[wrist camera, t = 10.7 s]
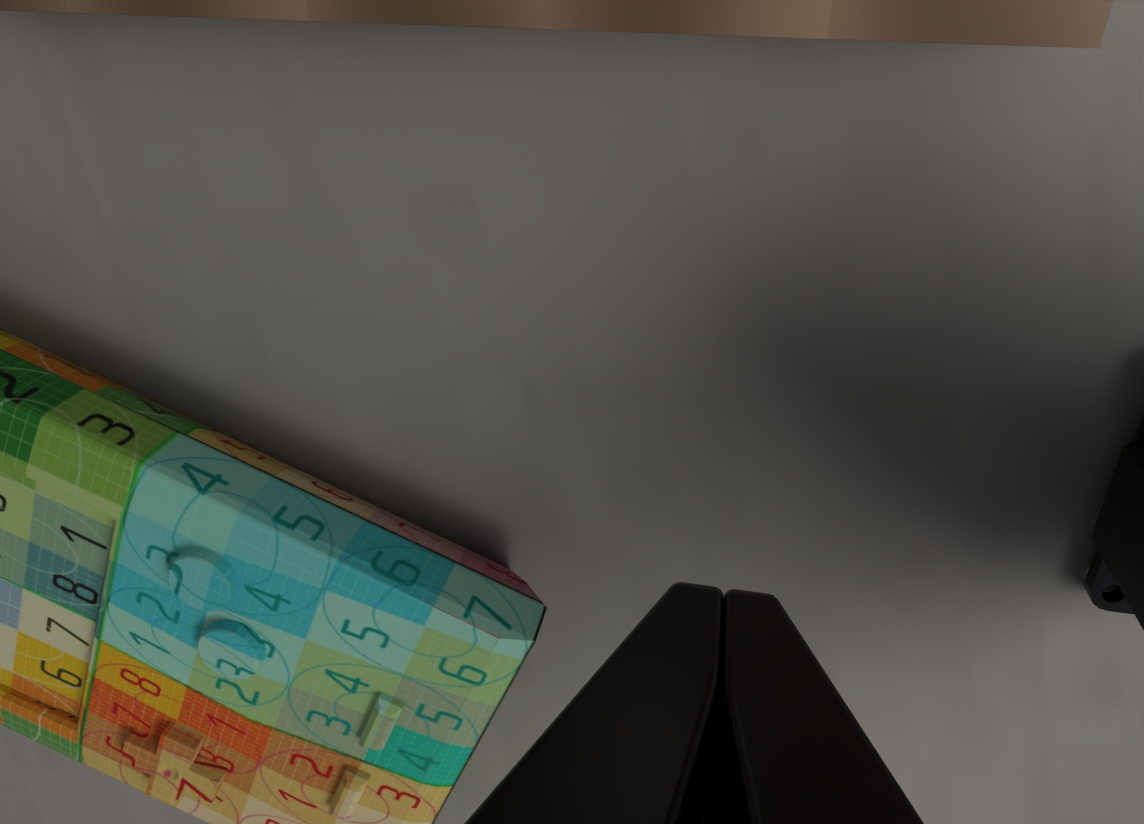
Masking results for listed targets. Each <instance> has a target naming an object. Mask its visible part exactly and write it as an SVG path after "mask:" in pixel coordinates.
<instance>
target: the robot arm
mask: <svg viewBox="0 0 1144 824" xmlns="http://www.w3.org/2000/svg"><path fill="white" fill-rule="evenodd" d="M1092 541H1093V543H1094V544H1095V546H1096V548H1097V549H1096V551H1095V554H1094V557H1093V560H1092V563H1091V566H1090V568H1089V571H1088V574H1087V577H1086V580H1085V589H1086V591H1087V593H1088V595H1089V597H1090V599H1091V600H1092V602H1093V604H1094V605H1096V606H1097V607H1098V608H1100V609H1103V610H1107V611H1114V612H1121V613H1129V614H1135V616H1136V618H1137V619H1138V621H1139V623H1140V625H1141V626H1142V628H1143V630H1144V416H1143V419H1142V422H1141V425H1140V427H1139V430H1138V433H1137V436H1136V438H1134V439H1132V440H1131V441H1130V442H1128V443H1127V444H1126V445H1125V446H1123V448H1122V451H1121V453H1120V456H1119V459H1118V462H1117V465H1116V468H1115V471H1114V474H1113V476H1112V479H1111V482H1110V485H1109V488H1108V491H1107V494H1106V496H1105V499H1104V502H1103V505H1102V508H1101V511H1100V514H1099V517H1098V519H1097V522H1096V525H1095V528H1094V531H1093V534H1092ZM1110 585H1118V586H1119V587H1118V588H1117V589H1115V590H1113V591H1111V592H1104V591H1103V590H1104V589H1105V588H1106V587H1108V586H1110ZM464 824H924V823H923V822H922V820H921V818H920V817H919V815H918V814H917V812H916V811H915V809H914V808H913V806H912V805H911V803H910V802H909V800H908V799H907V797H906V795H905V794H904V792H903V791H902V789H901V788H900V786H899V785H898V783H897V782H896V780H895V779H894V777H893V775H892V774H891V772H890V771H889V769H888V768H887V766H886V765H885V763H884V762H883V760H882V759H881V757H880V756H879V754H878V752H877V751H876V749H875V748H874V746H873V745H872V743H871V742H870V740H869V739H868V737H867V736H866V734H865V733H864V731H863V729H862V728H861V726H860V725H859V723H858V722H857V720H856V719H855V717H854V716H853V714H852V713H851V711H850V709H849V708H848V706H847V705H846V703H845V702H844V700H843V699H842V697H841V696H840V694H839V693H838V691H837V690H836V688H835V686H834V685H833V683H832V682H831V680H830V679H829V677H828V676H827V674H826V673H825V671H824V670H823V668H822V666H821V665H820V663H819V662H818V660H817V659H816V657H815V656H814V654H813V653H812V651H811V650H810V648H809V647H808V645H807V643H806V642H805V640H804V639H803V637H802V636H801V634H800V633H799V631H798V630H797V628H796V627H795V625H794V624H793V622H792V620H791V619H790V617H789V616H788V614H787V613H786V611H785V610H784V608H783V607H782V605H781V604H780V602H779V601H778V599H777V598H776V597H774V596H773V595H771V594H767V593H759V592H751V591H744V590H736V589H730V590H728V591H727V592H726V593H725V595H724V599H723V593H722V591H721V590H720V589H719V588H717V587H714V586H706V585H699V584H691V583H684V582H677V583H675V584H673V585H672V586H671V587H670V588H669V589H668V590H667V591H666V592H665V594H664V595H663V596H662V597H661V598H660V599H659V600H658V602H657V603H656V604H655V605H654V606H653V607H652V609H651V610H650V611H649V612H648V613H647V614H646V615H645V617H644V618H643V619H642V620H641V621H640V622H639V623H638V625H637V626H636V627H635V628H634V629H633V630H632V631H631V633H630V634H629V635H628V636H627V637H626V638H625V640H624V641H623V642H622V643H621V644H620V645H619V646H618V648H617V649H616V650H615V651H614V652H613V653H612V654H611V656H610V657H609V658H608V659H607V660H606V661H605V663H604V664H603V665H602V666H601V667H600V668H599V669H598V671H597V672H596V673H595V674H594V675H593V676H592V677H591V679H590V680H589V681H588V682H587V683H586V684H585V685H584V687H583V688H582V689H581V690H580V691H579V692H578V694H577V695H576V696H575V697H574V698H573V699H572V700H571V702H570V703H569V704H568V705H567V706H566V707H565V708H564V710H563V711H562V712H561V713H560V714H559V715H558V717H557V718H556V719H555V720H554V721H553V722H552V723H551V725H550V726H549V727H548V728H547V729H546V730H545V731H544V733H543V734H542V735H541V736H540V737H539V738H538V739H537V741H536V742H535V743H534V744H533V745H532V746H531V748H530V749H529V750H528V751H527V752H526V753H525V754H524V756H523V757H522V758H521V759H520V760H519V761H518V762H517V764H516V765H515V766H514V767H513V768H512V769H511V771H510V772H509V773H508V774H507V775H506V776H505V777H504V779H503V780H502V781H501V782H500V783H499V784H498V785H497V787H496V788H495V789H494V790H493V791H492V792H491V793H490V795H489V796H488V797H487V798H486V799H485V800H484V802H483V803H482V804H481V805H480V806H479V807H478V808H477V810H476V811H475V812H474V813H473V814H472V815H471V816H470V818H469V819H468V820H467V821H466V822H465V823H464Z"/></svg>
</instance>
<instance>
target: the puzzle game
mask: <svg viewBox="0 0 1144 824" xmlns="http://www.w3.org/2000/svg"><path fill="white" fill-rule="evenodd" d="M546 609H547V607H546V606H545V605H544V604H543V603H542V601H541V600H540V599H539V598H538V596H537V595H536V594H535V593H534V592H533V590H532V589H531V588H530V587H529V585H528V584H527V583H526V582H525V581H524V580H522V579H521V578H520V577H519V576H518V575H516V574H515V573H514V572H513V571H511V570H510V569H509V568H506V567H504V566H502V565H500V564H498V563H496V562H494V561H492V560H489V559H487V558H485V557H483V556H481V555H479V554H477V553H475V552H472V551H470V550H468V549H466V548H464V547H462V546H460V545H458V544H456V543H453V542H451V541H449V540H447V539H445V538H443V537H441V536H439V535H436V534H434V533H432V532H430V531H428V530H426V529H424V528H422V527H420V526H417V525H415V524H413V523H411V522H409V521H407V520H405V519H403V518H400V517H398V516H396V515H394V514H392V513H390V512H388V511H386V510H383V509H381V508H379V507H377V506H375V505H373V504H371V503H369V502H367V501H364V500H362V499H360V498H358V497H356V496H354V495H352V494H350V493H347V492H345V491H343V490H341V489H339V488H337V487H335V486H333V485H331V484H328V483H326V482H324V481H322V480H320V479H318V478H316V477H314V476H311V475H309V474H307V473H305V472H303V471H301V470H299V469H297V468H294V467H292V466H290V465H288V464H286V463H284V462H282V461H280V460H278V459H275V458H273V457H271V456H269V455H267V454H265V453H263V452H261V451H258V450H256V449H254V448H252V447H250V446H248V445H246V444H244V443H242V442H239V441H237V440H235V439H233V438H231V437H229V436H227V435H225V434H222V433H220V432H218V431H216V430H214V429H212V428H210V427H208V426H205V425H203V424H201V423H199V422H197V421H195V420H193V419H191V418H189V417H186V416H184V415H182V414H180V413H178V412H176V411H174V410H172V409H169V408H167V407H165V406H163V405H161V404H159V403H157V402H155V401H153V400H150V399H148V398H146V397H144V396H142V395H140V394H138V393H136V392H133V391H131V390H129V389H127V388H125V387H123V386H121V385H119V384H116V383H114V382H112V381H110V380H108V379H106V378H104V377H102V376H100V375H97V374H95V373H93V372H91V371H89V370H87V369H85V368H83V367H80V366H78V365H76V364H74V363H72V362H70V361H68V360H66V359H64V358H61V357H59V356H57V355H55V354H53V353H51V352H49V351H47V350H44V349H42V348H40V347H38V346H36V345H34V344H32V343H30V342H27V341H25V340H23V339H21V338H19V337H17V336H15V335H12V334H9V333H7V332H4V331H1V330H0V724H1V725H4V726H6V727H8V728H10V729H12V730H14V731H16V732H18V733H20V734H22V735H25V736H27V737H29V738H31V739H33V740H35V741H37V742H39V743H41V744H43V745H46V746H48V747H50V748H52V749H54V750H56V751H58V752H60V753H62V754H65V755H67V756H69V757H71V758H73V759H75V760H77V761H79V762H81V763H83V764H86V765H88V766H90V767H92V768H94V769H96V770H98V771H100V772H102V773H104V774H107V775H109V776H111V777H113V778H115V779H117V780H119V781H121V782H123V783H125V784H128V785H130V786H132V787H134V788H136V789H138V790H140V791H142V792H144V793H145V794H147V795H149V796H151V797H153V798H155V799H157V800H160V801H162V802H164V803H166V804H168V805H170V806H173V807H175V808H178V809H180V810H182V811H184V812H186V813H189V814H191V815H193V816H195V817H197V818H199V819H201V820H203V821H205V822H208V823H210V824H434V822H435V821H436V819H437V817H438V815H439V813H440V812H441V810H442V808H443V806H444V804H445V803H446V801H447V799H448V797H449V796H450V794H451V792H452V790H453V788H454V787H455V785H456V783H457V781H458V779H459V778H460V776H461V774H462V772H463V770H464V769H465V767H466V765H467V763H468V761H469V760H470V758H471V756H472V754H473V752H474V751H475V749H476V747H477V745H478V743H479V742H480V740H481V738H482V736H483V735H484V733H485V731H486V729H487V727H488V726H489V724H490V722H491V720H492V718H493V717H494V715H495V713H496V711H497V709H498V708H499V706H500V704H501V702H502V700H503V699H504V697H505V695H506V693H507V691H508V690H509V688H510V686H511V684H512V683H513V681H514V679H515V677H516V675H517V674H518V672H519V670H520V668H521V666H522V665H523V663H524V661H525V659H526V657H527V656H528V654H529V652H530V650H531V648H532V647H533V645H534V643H535V641H536V638H537V635H538V632H539V630H540V627H541V624H542V621H543V618H544V615H545V612H546Z"/></svg>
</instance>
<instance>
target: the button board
mask: <svg viewBox="0 0 1144 824" xmlns="http://www.w3.org/2000/svg"><path fill="white" fill-rule="evenodd" d="M1111 3H1112V0H0V10H7V11H36V12H64V13H93V14H122V15H151V16H179V17H208V18H237V19H266V20H294V21H323V22H352V23H381V24H410V25H438V26H467V27H496V28H525V29H553V30H582V31H611V32H640V33H668V34H697V35H726V36H755V37H784V38H812V39H841V40H870V41H899V42H927V43H956V44H985V45H1014V46H1042V47H1071V48H1099V47H1100V44H1101V40H1102V36H1103V33H1104V29H1105V25H1106V22H1107V18H1108V14H1109V11H1110V7H1111Z"/></svg>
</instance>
